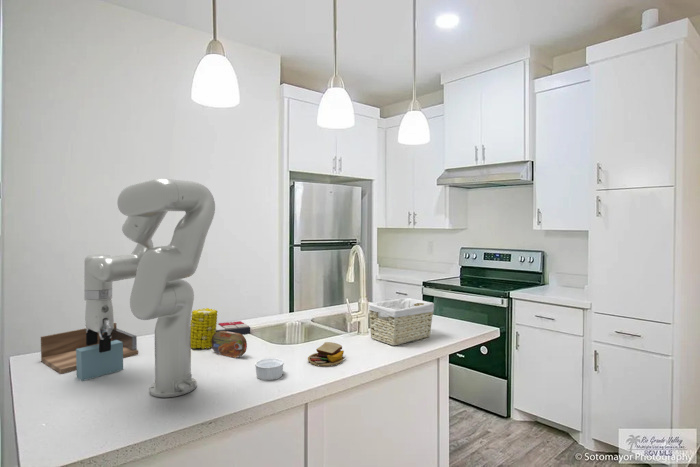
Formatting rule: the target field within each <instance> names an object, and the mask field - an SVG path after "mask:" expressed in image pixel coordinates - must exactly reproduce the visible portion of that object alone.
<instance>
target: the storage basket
mask: <svg viewBox="0 0 700 467" xmlns="http://www.w3.org/2000/svg"><path fill="white" fill-rule="evenodd" d="M368 310H369V311H368V314H369V325H370V326H369V328H370V330H369V331H370V338H371V339H373V340H375V341H378V342H381V343H383V344H387V345H390V346H398V345H399V346H400V345H402V344H407V343H409V342H416V341H419V340H422V339H425V338H430V336H431V330H432V322H433V316H434V315H433V314H434V310H435V303H434V302H430V301H425V300H422V299H417V298H416V299H415V298H410V297H405V298H396V299H389V300H382V301H376V302H371V303H369V306H368Z"/></svg>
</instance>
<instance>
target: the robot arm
mask: <svg viewBox="0 0 700 467" xmlns="http://www.w3.org/2000/svg"><path fill="white" fill-rule="evenodd" d="M213 195H214V194H213V193H212V192H211V190H210V188H208V187H207V186H205V185H204V184H202V183H199V182H195V181H189V180H180V179H172V178H171V179H170V178H155V179H151V180H146V181H143V182H138V183H134V184H132V185H131V184H130V185H128V186H126V187H124V188H123V190H121V191H120V193H119V194H118V197H117V203H116V204H117V209H118V211H119V212H120V213H121V214H122V215H123V216H126V220H125V221H124V223H123V224H122V228H121V231H122V234H123V235H124V236H125V237H126V238H127V239H128V240H129V241H132V242H134V243H136V245H135V248H134V249H133V251H132V253H131V254H124V255H123V254H122V255H115V256H111V255H108V254H90V255H87V256H86V257H85V258H84V262H83V263H84V272H83V273H84V276H83V277H84V281H83V282H84V283H83V284H84V289H83V290H84V293H83V294H84V297H83V299H84V301H86V302H85V311H84V312H85V314H84V316H85V317H84V320H85V321H84V322H85V324H84V325H85V328H86V345H92V344H97V343H98V333H99V336H100V340H99V352H100V353H102V352H106V351H110V350H111V337H112V336H111V335H112V330H113V328H114V323H115V322H114V321H115V320H114V307H113V300H112V299H113V282H118V281H122V280H129V279H134V281H133V285H132V288H131V293H130V298H129V307H130V311H131V313H132V315H134V317H135V318H137V319H138V320H142V321H149V320H153V319H157V320H156V323H155V327H154V377H155V378H154V383H152V384H151V385H150V386H149V390H148V391H149V392H148V393H149V394H150V395H151V396H152V397H156V398H174V397H178V396H183V395H186V394H189V393H190V392H192V391H194V390H195V388H196V387H197V384H198V382H197V379H195V378H193V377H192V364H191V363H192V361H191V360H192V358H191V357H192V355H191V354H192V352H191V351H192V350H191V349H192V348H191V337H190V334H191V320H192V319H191V318H192V316H191V315H192V311H193V306H194V300H195V293H194V292H195V291H194V289H193V286H192V285H191V283H189V282H188V281H186V280H184V279H187V278H190V277H192V276H194V274H195V273H196V272H197V269H198V267H199V264H200V260H201V257H202V256H201V255H202V253H203V249H204V246H205V242H206V238H207V236H208V233H209V230H210V228H211V225H212V222H213V220H214V217H215V213H216V203H215V198H214V196H213ZM168 212H184V213H185V214H184V215H183V217H182V218H181V219H180V220H179V221H178V223H177V225H176V226H175V228H174V230H173V234H172V237H171V240H170V243H169V244H168V245H161V246H156V247H154V242H153V240H152V239H153V237H154V235H155V234H156V232H157V230H158V228H159V227H160V225H161V223H162V222H163V220H164V219H165V217H166V215H167V213H168ZM105 328H106V329H105ZM101 329H102V330H101ZM103 332H105V333H104V335H103Z"/></svg>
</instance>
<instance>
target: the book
mask: <svg viewBox="0 0 700 467" xmlns="http://www.w3.org/2000/svg"><path fill="white" fill-rule="evenodd" d="M76 368H77V370H76V378H77V379H78V380H80V381H82V382H83V381H86V380H90V379H93V378H94V379H95V378H97V377H101V376H105V375H107V374H112V373H115V372H119V371H123V370H124V358H123V342H121V341H119V340H115V341H111V350H110V351H106V352H102V353H100V352H99V344H97V345H92V346H87V347H83V348H78V349H76Z"/></svg>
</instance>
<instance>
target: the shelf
mask: <svg viewBox="0 0 700 467" xmlns="http://www.w3.org/2000/svg"><path fill="white" fill-rule="evenodd" d="M105 329H106V328H105ZM101 330H102V329H101ZM104 333H105V332H103V335H104ZM111 336H112V337H111V341H115V340H119V341H121V342H123V359H124V358H125V359H126V358H129V357H133V356H137V355H139V350H138V349H137V348H138V345H137V340H138V339H137V338H138V337H137V335H135V334H133V333H130V332H127V331H124V330H122V329H119V328H117V323H116V322H114V328H113V330H112V335H111ZM99 340H100V336H99V333H98V343H97V344H99ZM97 344H92V345H97ZM92 345H86V327H85V328H82V329H76V330H70V331H64V332H59V333H53V334H48V335H43V336H40V358H41V360H40V361H41V362H42V364H44V365H45V366H48V367H49V368H50V369H52V370H53V371H55V372H57V373H59V374H60V375H63V374H67V373H71V372H74V371H77V368H76V349H78V348H83V347H87V346H92Z"/></svg>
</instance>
